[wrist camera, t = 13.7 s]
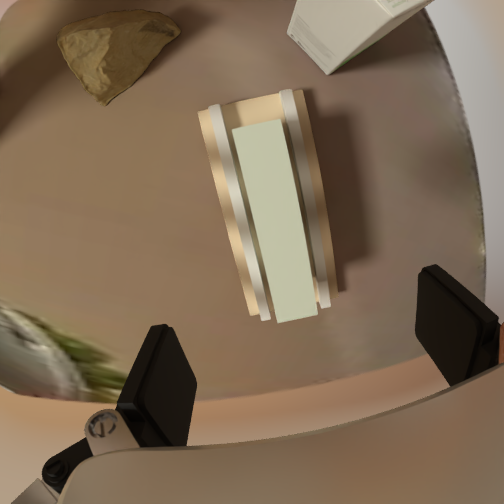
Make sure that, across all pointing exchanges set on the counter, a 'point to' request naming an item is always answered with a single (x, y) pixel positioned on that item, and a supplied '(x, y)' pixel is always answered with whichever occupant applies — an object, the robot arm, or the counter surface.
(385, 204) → the counter surface
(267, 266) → the door panel
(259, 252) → the bottom track
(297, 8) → the skincare box
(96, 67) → the rock
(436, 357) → the robot arm
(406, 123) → the counter surface
